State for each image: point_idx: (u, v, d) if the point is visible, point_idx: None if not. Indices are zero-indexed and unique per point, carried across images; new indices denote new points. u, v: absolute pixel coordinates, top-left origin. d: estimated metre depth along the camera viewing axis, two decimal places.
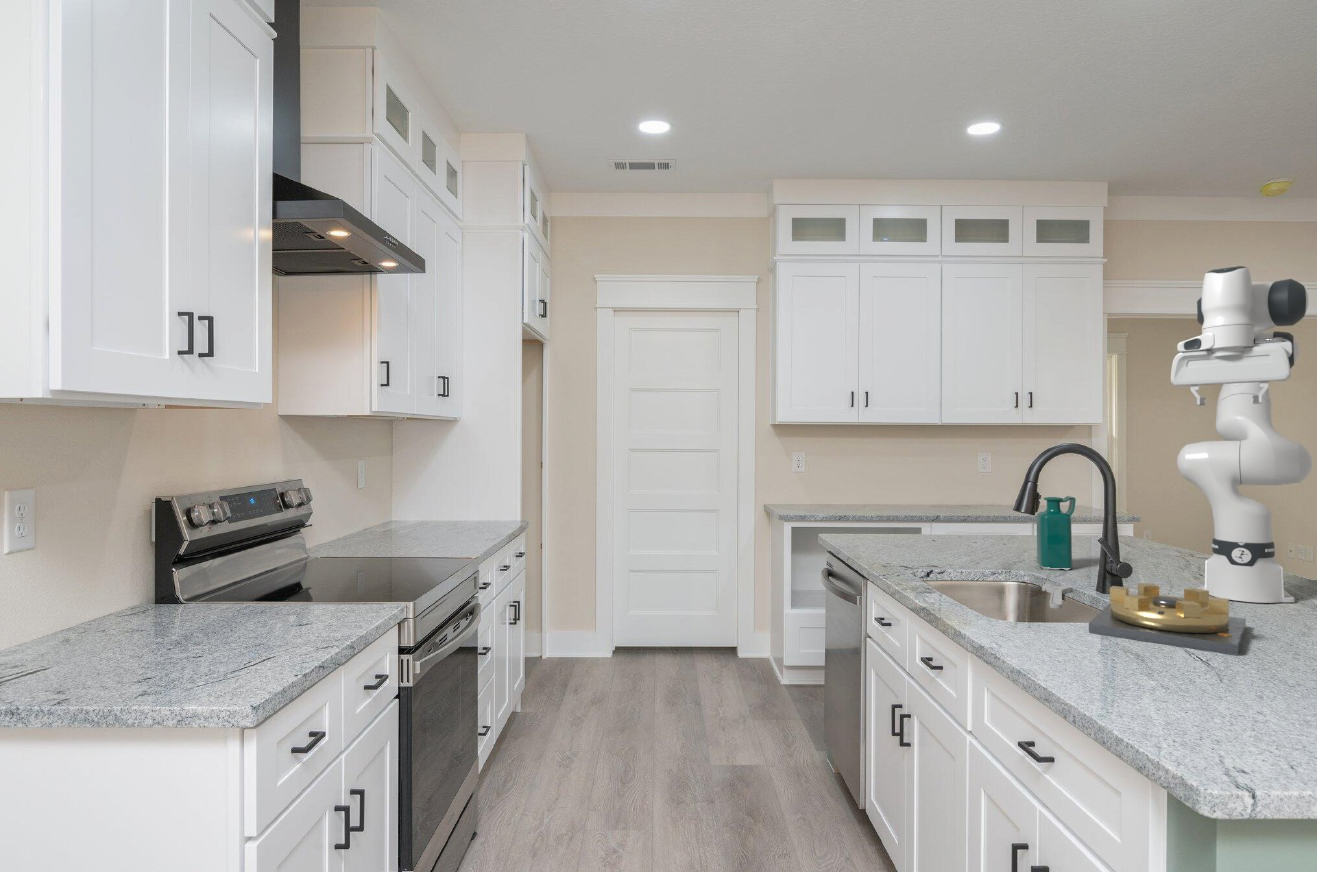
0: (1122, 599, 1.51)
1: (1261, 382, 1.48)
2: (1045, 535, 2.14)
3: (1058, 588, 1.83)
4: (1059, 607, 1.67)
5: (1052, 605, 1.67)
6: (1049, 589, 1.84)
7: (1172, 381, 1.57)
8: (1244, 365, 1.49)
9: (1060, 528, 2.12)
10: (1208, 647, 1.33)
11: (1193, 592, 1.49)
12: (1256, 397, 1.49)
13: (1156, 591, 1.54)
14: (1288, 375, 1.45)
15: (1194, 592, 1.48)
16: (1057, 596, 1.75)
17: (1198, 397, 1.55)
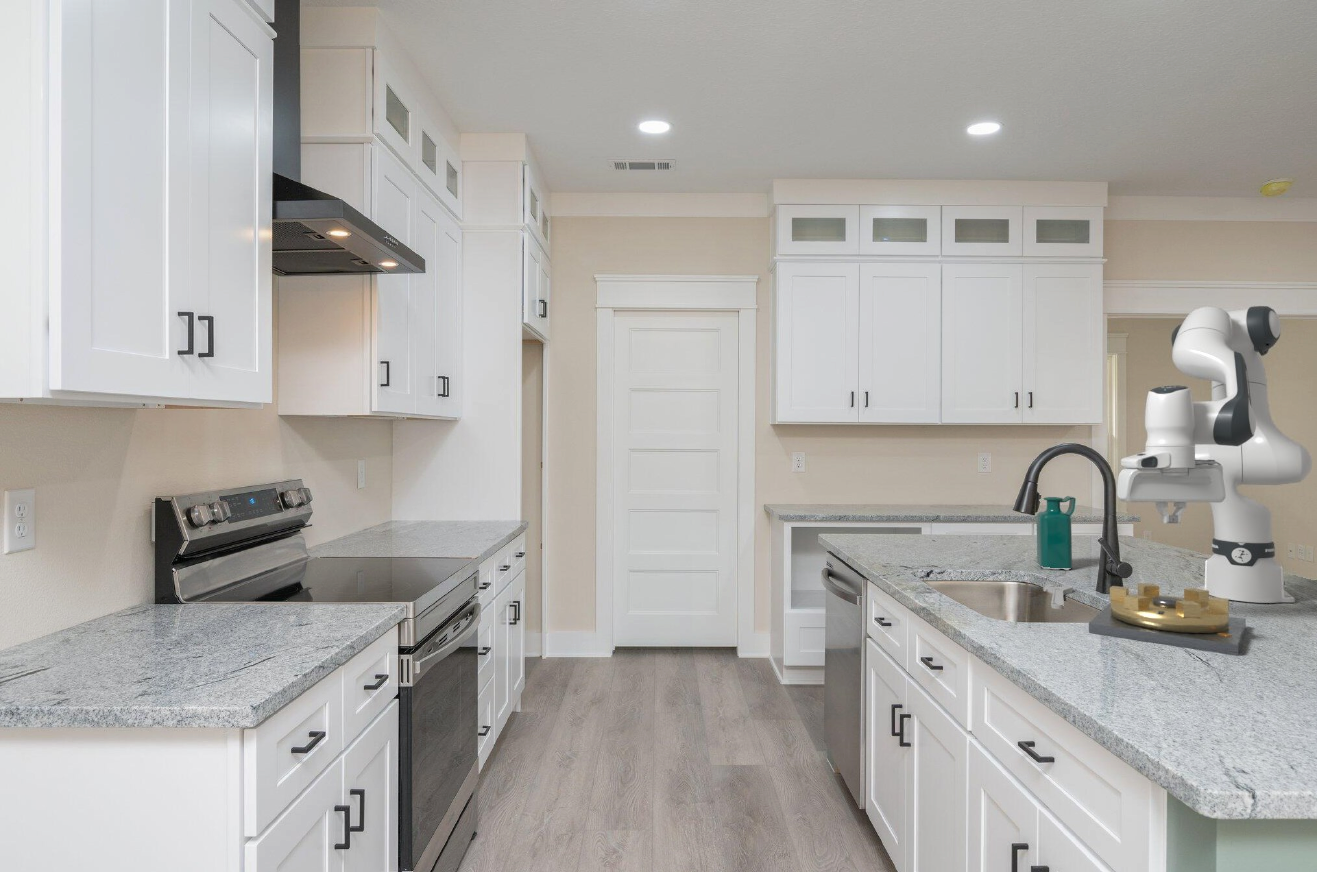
0: (1122, 599, 1.51)
1: (1180, 503, 1.52)
2: (1045, 535, 2.14)
3: (1059, 588, 1.83)
4: (1061, 608, 1.66)
5: (1054, 606, 1.67)
6: (1050, 589, 1.83)
7: (1126, 497, 1.53)
8: (1188, 485, 1.51)
9: (1060, 528, 2.12)
10: (1208, 647, 1.33)
11: (1193, 592, 1.49)
12: (1176, 517, 1.52)
13: (1156, 591, 1.54)
14: (1224, 498, 1.50)
15: (1194, 592, 1.48)
16: (1059, 596, 1.75)
17: (1167, 515, 1.52)
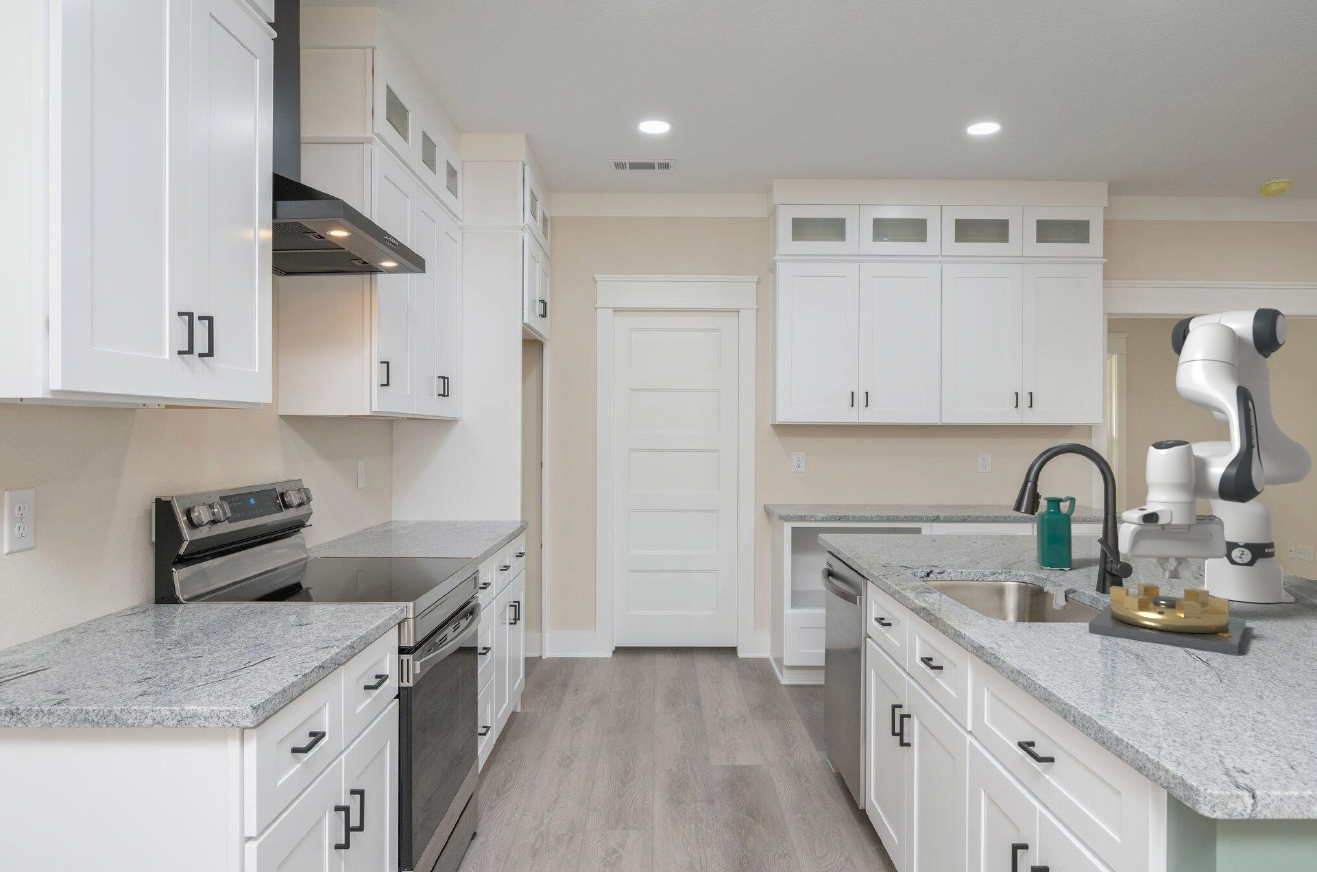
0: (1122, 599, 1.51)
1: (1182, 558, 1.52)
2: (1045, 535, 2.14)
3: (1060, 588, 1.83)
4: (1063, 608, 1.66)
5: (1056, 606, 1.66)
6: (1051, 590, 1.83)
7: (1128, 553, 1.53)
8: (1190, 541, 1.51)
9: (1060, 528, 2.12)
10: (1208, 647, 1.33)
11: (1193, 592, 1.49)
12: (1177, 572, 1.52)
13: (1156, 591, 1.54)
14: (1225, 554, 1.50)
15: (1194, 592, 1.48)
16: (1060, 597, 1.74)
17: (1168, 570, 1.52)
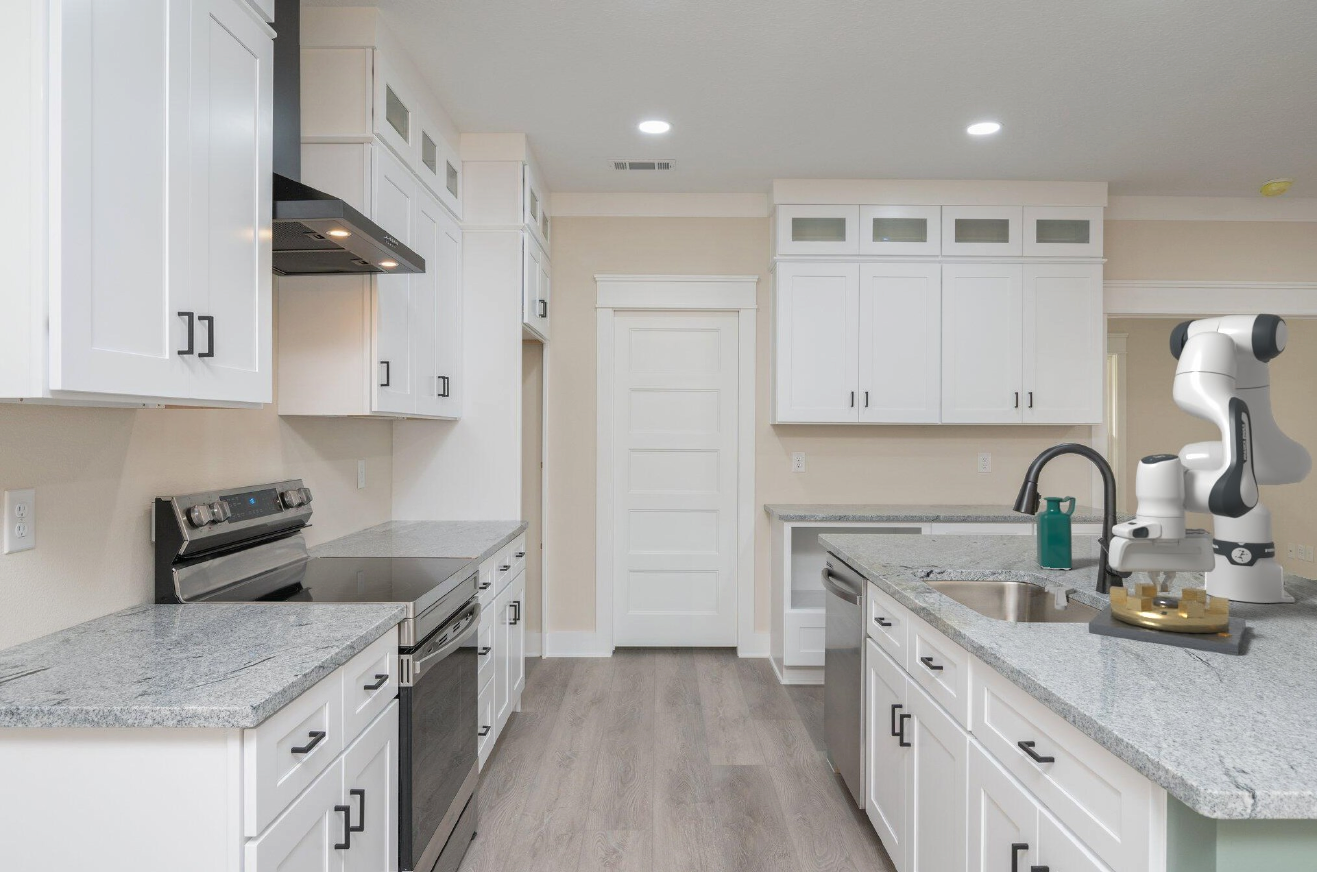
0: (1122, 599, 1.51)
1: (1170, 572, 1.53)
2: (1045, 535, 2.14)
3: (1061, 589, 1.82)
4: (1064, 608, 1.65)
5: (1057, 606, 1.66)
6: (1052, 590, 1.82)
7: (1118, 567, 1.53)
8: (1179, 555, 1.52)
9: (1060, 528, 2.12)
10: (1208, 647, 1.33)
11: (1191, 592, 1.49)
12: (1166, 586, 1.53)
13: (1154, 591, 1.54)
14: (1214, 567, 1.51)
15: (1192, 592, 1.49)
16: (1061, 597, 1.74)
17: (1159, 584, 1.53)
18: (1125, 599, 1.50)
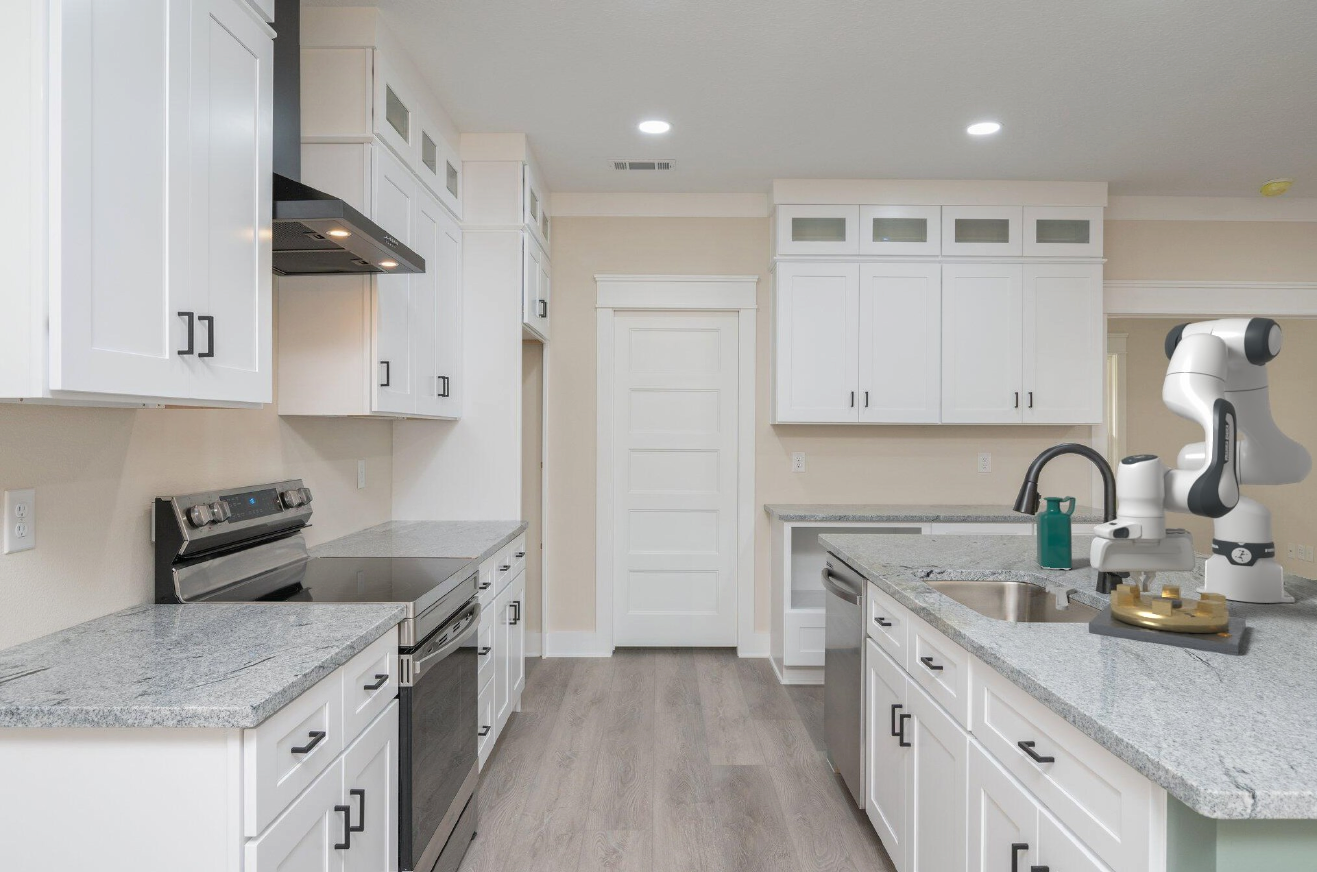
0: (1129, 604, 1.47)
1: (1150, 572, 1.53)
2: (1045, 535, 2.14)
3: (1062, 589, 1.82)
4: (1065, 609, 1.65)
5: (1058, 607, 1.66)
6: (1053, 590, 1.82)
7: (1099, 567, 1.54)
8: (1159, 555, 1.53)
9: (1060, 528, 2.12)
10: (1208, 647, 1.33)
11: (1173, 589, 1.52)
12: (1146, 586, 1.54)
13: (1138, 591, 1.54)
14: (1194, 567, 1.52)
15: (1174, 589, 1.52)
16: (1062, 597, 1.74)
17: (1141, 584, 1.54)
18: (1132, 603, 1.47)
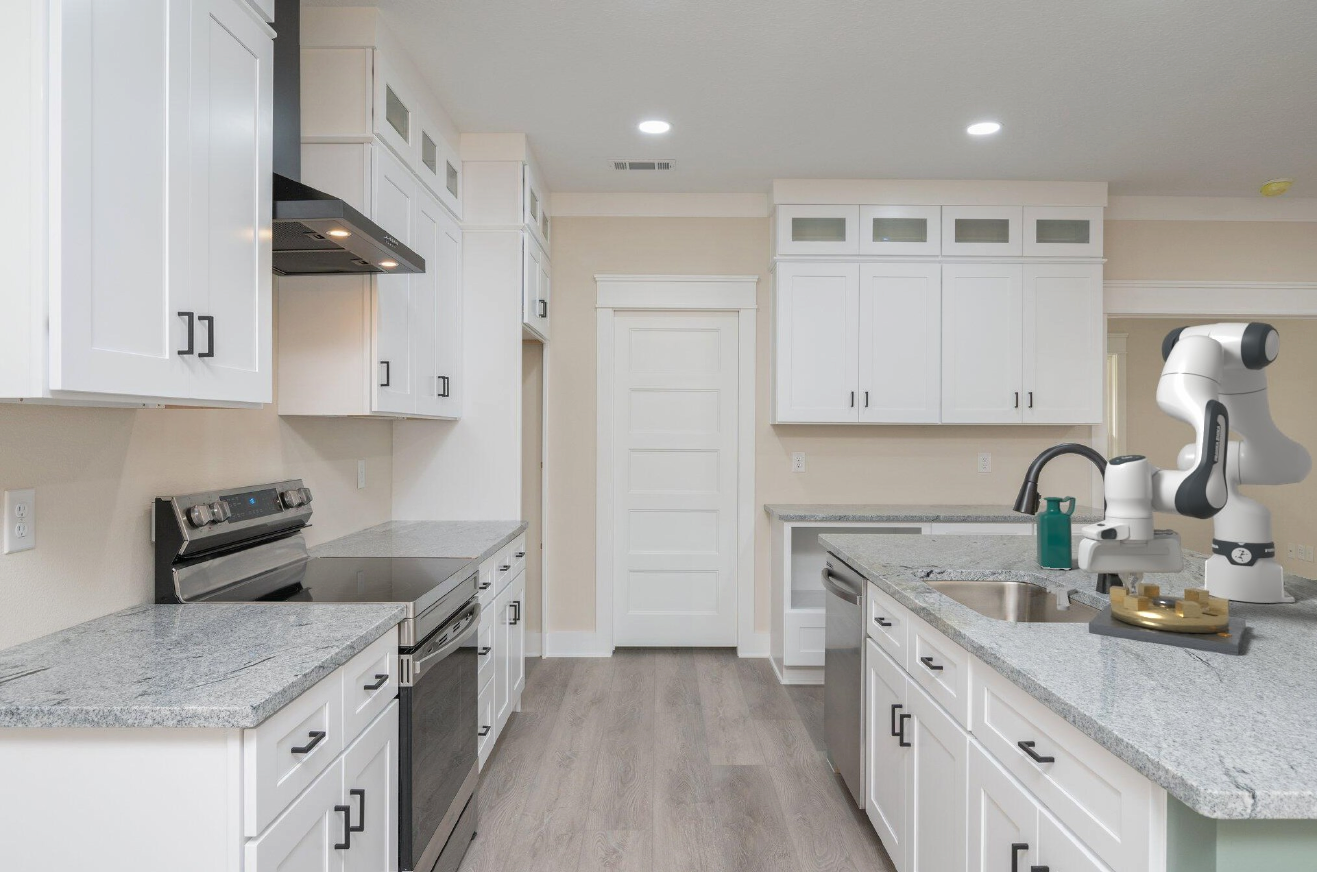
0: (1146, 608, 1.43)
1: (1138, 573, 1.52)
2: (1045, 535, 2.14)
3: (1063, 589, 1.82)
4: (1067, 609, 1.65)
5: (1060, 607, 1.65)
6: (1054, 590, 1.82)
7: (1087, 569, 1.53)
8: (1148, 556, 1.51)
9: (1060, 528, 2.12)
10: (1208, 647, 1.33)
11: (1153, 587, 1.54)
12: (1133, 587, 1.52)
13: (1128, 593, 1.52)
14: (1182, 568, 1.51)
15: (1154, 587, 1.54)
16: (1063, 598, 1.73)
17: (1130, 585, 1.53)
18: (1147, 607, 1.43)
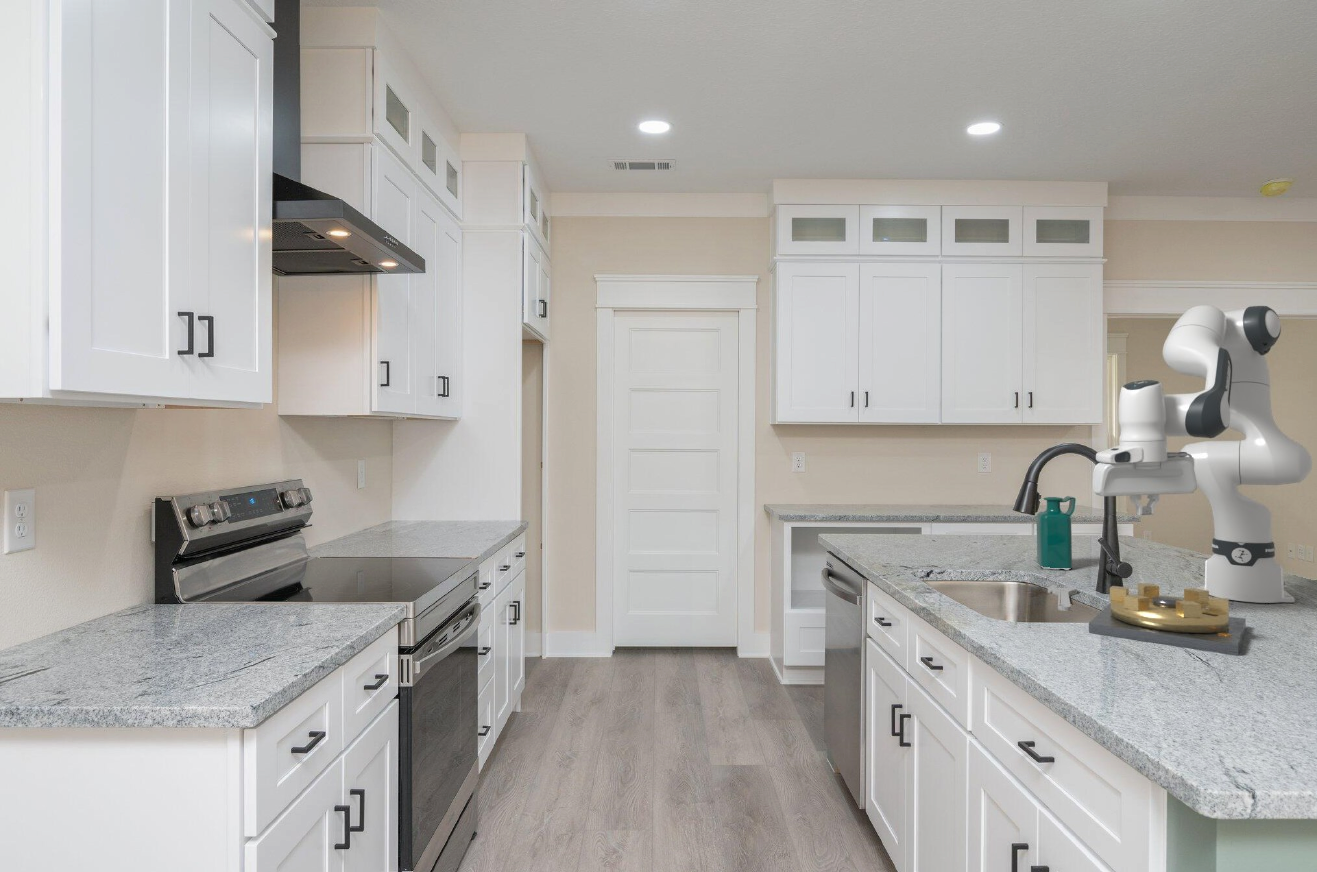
0: (1146, 608, 1.43)
1: (1154, 495, 1.56)
2: (1045, 535, 2.14)
3: (1064, 590, 1.81)
4: (1068, 609, 1.64)
5: (1061, 607, 1.65)
6: (1055, 591, 1.81)
7: (1101, 492, 1.57)
8: (1161, 478, 1.55)
9: (1060, 528, 2.12)
10: (1208, 647, 1.33)
11: (1153, 587, 1.54)
12: (1149, 509, 1.57)
13: (1128, 593, 1.52)
14: (1195, 489, 1.54)
15: (1154, 587, 1.54)
16: (1064, 598, 1.73)
17: (1141, 507, 1.57)
18: (1148, 607, 1.43)
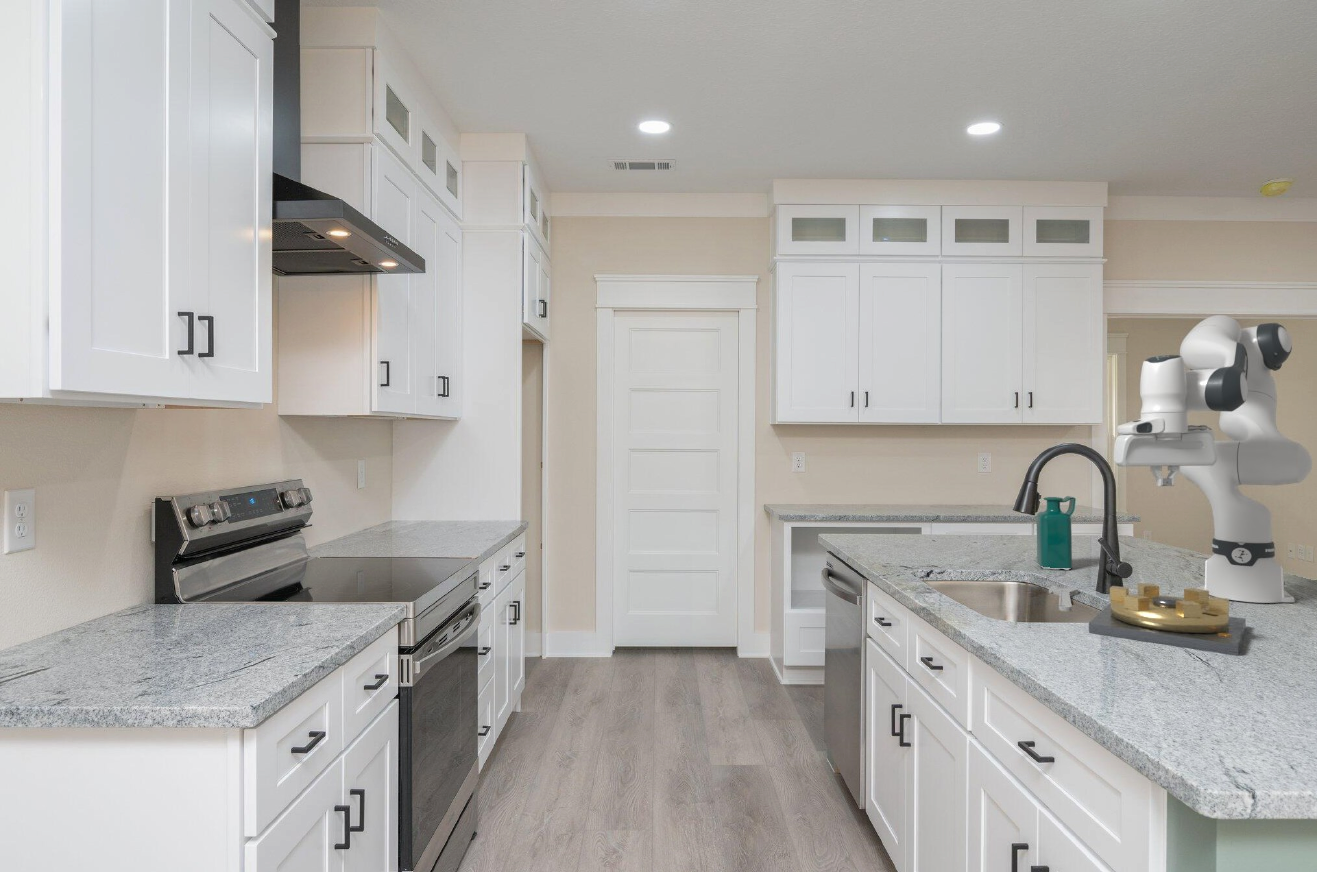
0: (1146, 608, 1.43)
1: (1174, 466, 1.60)
2: (1045, 535, 2.14)
3: (1065, 590, 1.81)
4: (1069, 610, 1.64)
5: (1062, 608, 1.65)
6: (1056, 591, 1.81)
7: (1123, 462, 1.60)
8: (1181, 450, 1.59)
9: (1060, 528, 2.12)
10: (1208, 647, 1.33)
11: (1153, 587, 1.54)
12: (1170, 480, 1.60)
13: (1128, 593, 1.52)
14: (1215, 461, 1.58)
15: (1154, 587, 1.54)
16: (1065, 598, 1.73)
17: (1161, 478, 1.60)
18: (1148, 607, 1.43)
